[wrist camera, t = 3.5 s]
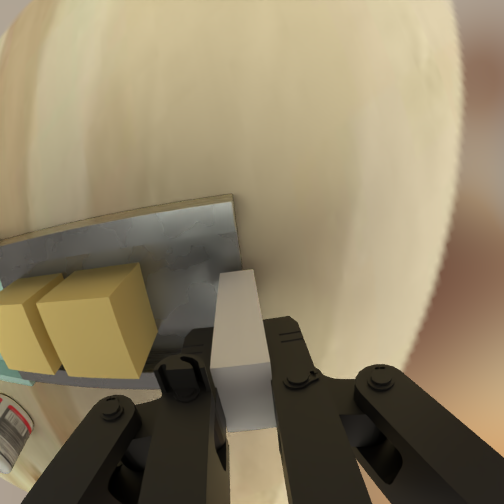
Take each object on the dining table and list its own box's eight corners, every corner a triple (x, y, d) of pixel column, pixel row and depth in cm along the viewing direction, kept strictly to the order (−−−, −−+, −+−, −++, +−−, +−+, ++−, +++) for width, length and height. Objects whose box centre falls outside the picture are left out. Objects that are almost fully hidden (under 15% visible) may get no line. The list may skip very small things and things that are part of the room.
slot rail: (41, 356, 16) (22, 379, 14) (-1, 240, 14) (-30, 254, 11) (254, 348, 17) (257, 382, 14) (232, 193, 14) (231, 201, 11)
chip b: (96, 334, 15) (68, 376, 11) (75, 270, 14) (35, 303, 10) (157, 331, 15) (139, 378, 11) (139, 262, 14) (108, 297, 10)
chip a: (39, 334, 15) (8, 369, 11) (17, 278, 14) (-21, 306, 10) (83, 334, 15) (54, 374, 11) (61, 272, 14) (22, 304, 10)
